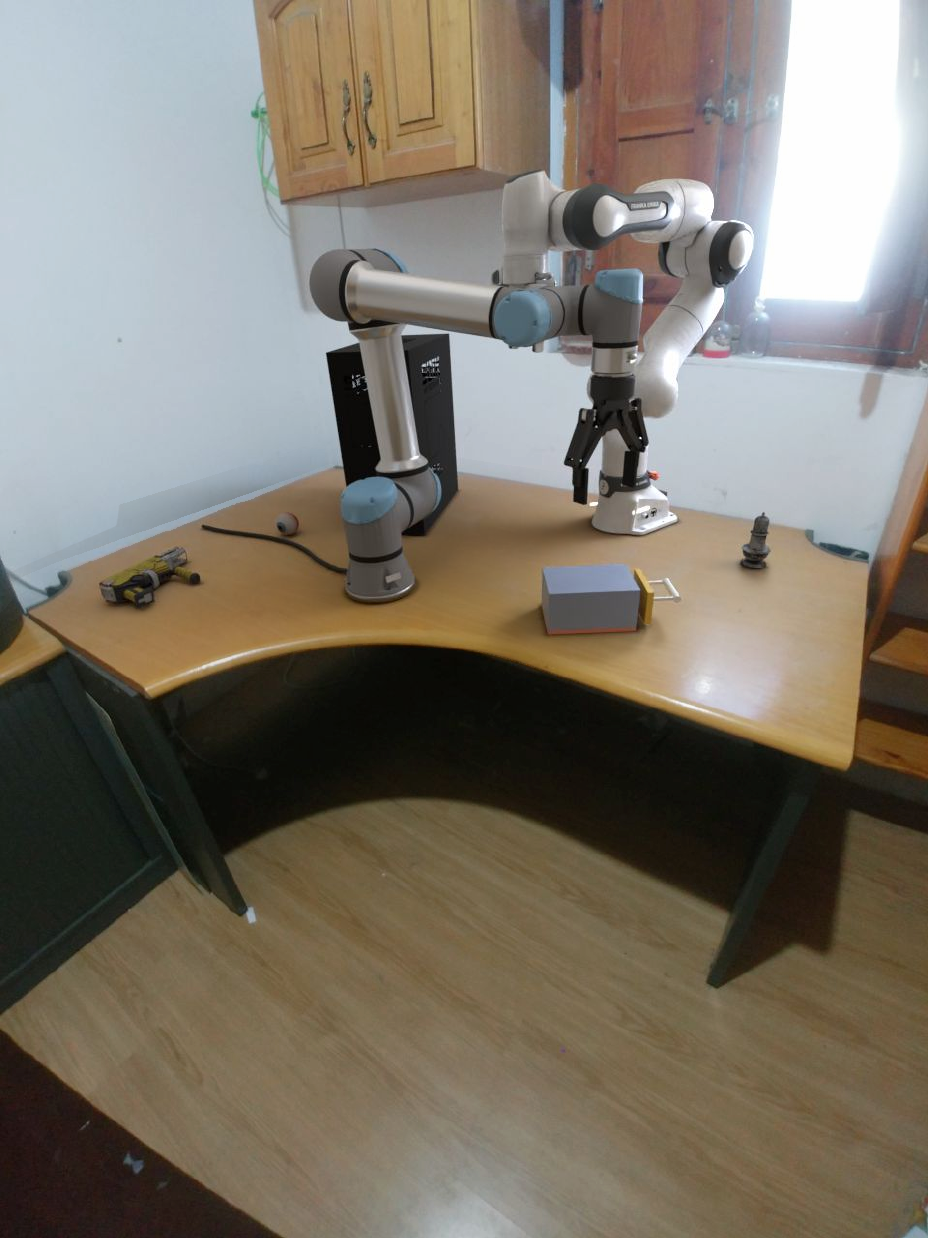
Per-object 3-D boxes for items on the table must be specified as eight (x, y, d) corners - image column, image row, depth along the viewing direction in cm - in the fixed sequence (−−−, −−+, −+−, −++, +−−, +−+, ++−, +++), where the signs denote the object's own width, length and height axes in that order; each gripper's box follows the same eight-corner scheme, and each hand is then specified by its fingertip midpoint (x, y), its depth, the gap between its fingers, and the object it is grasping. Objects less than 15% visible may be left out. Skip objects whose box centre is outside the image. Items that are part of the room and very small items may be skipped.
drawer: (664, 597, 122) (668, 567, 118) (679, 623, 113) (684, 591, 110) (561, 602, 122) (562, 571, 119) (569, 627, 113) (570, 596, 110)
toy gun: (223, 554, 147) (173, 544, 151) (148, 595, 127) (92, 582, 131) (226, 572, 149) (177, 561, 153) (152, 615, 129) (97, 601, 133)
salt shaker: (770, 569, 132) (782, 517, 126) (741, 568, 133) (751, 516, 127) (764, 558, 137) (775, 507, 131) (736, 557, 138) (746, 507, 132)
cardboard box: (424, 535, 159) (408, 350, 137) (353, 532, 164) (325, 352, 141) (458, 489, 191) (449, 333, 168) (397, 488, 195) (380, 335, 173)
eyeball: (273, 537, 164) (268, 516, 161) (287, 528, 169) (282, 508, 166) (291, 539, 161) (286, 518, 158) (305, 530, 166) (301, 510, 163)
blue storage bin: (622, 602, 123) (625, 563, 119) (636, 630, 113) (640, 590, 109) (541, 605, 123) (542, 567, 119) (548, 634, 114) (549, 594, 109)
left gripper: (578, 386, 94) (573, 515, 104) (677, 365, 106) (663, 483, 117) (544, 381, 99) (543, 505, 110) (642, 362, 112) (632, 475, 122)
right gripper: (569, 270, 110) (567, 352, 117) (512, 273, 126) (513, 345, 133) (540, 272, 108) (540, 356, 115) (486, 275, 124) (488, 348, 131)
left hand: (605, 494), depth 113 cm, fingers open, 13 cm apart
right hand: (525, 350), depth 124 cm, fingers open, 8 cm apart
